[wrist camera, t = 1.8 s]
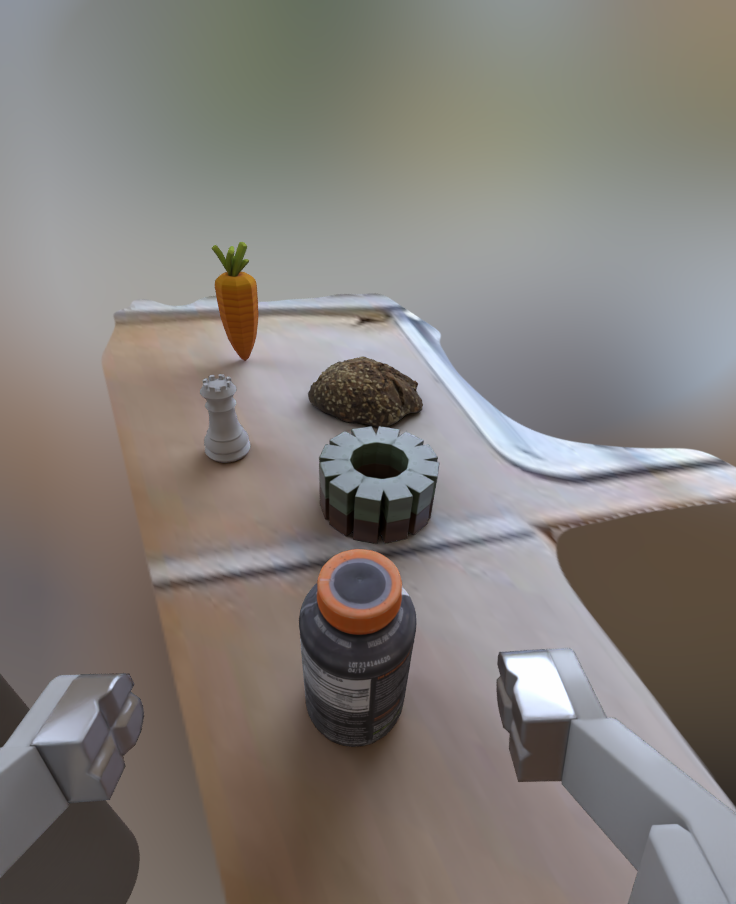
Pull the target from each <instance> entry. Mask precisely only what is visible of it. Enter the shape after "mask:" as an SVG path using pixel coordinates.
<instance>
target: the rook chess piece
mask: <svg viewBox="0 0 736 904" xmlns="http://www.w3.org/2000/svg"><path fill="white" fill-rule="evenodd" d="M236 390H237V389H236V386H235V385H234V384H233V383H231V378H230V377H229V376H227V377H226V379H225V376H224V375H222V374H219V379H215V377H214V375H211V376H209V381H208V379H206V378H204V380H203V387H202V388H201V389H200V394H201V395H202V396H203V397H204V398H205V399H206V400H207V402H206V404H205V407H206V409H207V410H208V412H209V429H208V430H207V434H206V436H205V439H204V445H205V453H206V454H207V456H208V457H209V458H211V459H212V460H215V461H217V462H223V463H228V462H234V461H237V460H239V459H241V458H242V457H244V456H245V455H246V454H247V452H248V451H249V449H250V442H249V437H248V434H247V432H246V431H245V430H244V429H243V427H242V426H241V425H240V424H239V422H238V419H237V416H236V412H235V408H234V407H235V405H236V401H235V400H234V399H233V395H234V393H235V392H236Z"/></svg>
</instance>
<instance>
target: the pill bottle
mask: <svg viewBox="0 0 736 904" xmlns="http://www.w3.org/2000/svg"><path fill="white" fill-rule="evenodd" d="M299 629H300V639H301V653H302V664H303V675H304V685H305V698H306V706H307V710H308V713H309V716H310V718H311V720H312V722H313V724H314V725H315V727H316V728H317V729H318V730H319V731H320V732H321V733H322V734H323V735H324V736H325V737H327V738H328V739H329V740H331V741H333V742H335V743H338V744H341V745H344V746H351V747H354V746H364V745H368V744H371V743H374V742H375V741H377V740H379V739H381V738H382V737H384V736H385V735H386V734H387V733H388V732H389V731H390V730H391V729H392V728H393V726H394V725H395V724H396V722H397V720H398V718H399V716H400V714H401V710H402V707H403V702H404V697H405V691H406V685H407V679H408V673H409V667H410V661H411V655H412V649H413V643H414V638H415V632H416V612H415V608H414V605H413V603H412V600H411V598H410V596H409V595H408V593H407V592H406V591H405V589H404V588H403V587H402V580H401V576H400V573H399V571H398V569H397V567H396V566H395V565H394V564H393V562H392V561H390V560H389V559H388V558H387V557H385V556H384V555H382V554H380V553H377V552H375V551H371V550H365V549H353V550H348V551H344V552H341V553H339V554H337V555H335V556H334V557H332V558H331V559H330V560H328V561H327V562H326V564H325V565H324V566H323V567H322V569H321V571H320V574H319V576H318V581H317V583H316V584H315V585H314V586H313V588H312V589H311V590H310V591H309V593H308V594H307V596H306V598H305V600H304V602H303V604H302V607H301V611H300V617H299Z"/></svg>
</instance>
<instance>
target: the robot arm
mask: <svg viewBox="0 0 736 904" xmlns="http://www.w3.org/2000/svg"><path fill="white" fill-rule="evenodd" d="M497 665H498V668H499V672H500V675H501V676H500V677H499V678H498V679H497V701H498V708H499V713H500V717H501V721H502V725H503V728H505V729H506V730H507V731H508V732H509V733H510V738H509V751H510V754H511V758H512V761H513V765H514V768H515V772H516V776H517V779H518V782H536V781H562V783H561V784H562V785H563V786H564V787H565V788H566V789H567V790H568V792H569V793H570V794H571V795H572V796H573V797H574V799H575V800H576V801H577V802H578V803H579V804H580V805H581V807H582V808H583V809H584V810H585V811H586V812H587V813H588V815H589V816H590V817H591V818H592V819H593V820H594V821H595V823H596V824H597V825H598V826H599V827H600V828H601V829H602V831H603V832H604V833H605V834H606V835H607V836H608V838H609V839H610V840H611V841H612V842H613V843H614V844H615V846H616V847H617V848H618V849H619V850H620V851H621V852H622V854H623V855H624V856H625V857H626V858H627V859H628V860H629V862H630V863H631V864H632V865H633V866H634V867H635V869H636V870H637V871H638V872H637V876H636V879H635V882H634V885H633V889H632V892H631V895H630V898H629V902H628V904H736V813H735V812H734V811H732V810H731V809H730V808H728V807H727V806H726V805H725V804H723V803H722V802H721V801H720V800H718V799H717V798H716V797H715V796H713V795H712V794H711V793H709V792H708V791H707V790H706V789H704V788H703V787H702V786H701V785H699V784H698V783H697V782H696V781H694V780H693V779H692V778H690V777H689V776H688V775H687V774H685V773H684V772H683V771H682V770H680V769H679V768H678V767H677V766H675V765H674V764H673V763H671V762H670V761H669V760H668V759H666V758H665V757H664V756H663V755H661V754H660V753H659V752H657V751H656V750H655V749H654V748H652V747H651V746H650V745H649V744H647V743H646V742H645V741H644V740H642V739H641V738H640V737H638V736H637V735H636V734H635V733H633V732H632V731H631V730H630V729H628V728H627V727H626V726H625V725H623V724H622V723H621V722H619V721H618V720H617V719H616V718H607V716H606V714H605V712H604V710H603V708H602V706H601V704H600V702H599V700H598V698H597V696H596V694H595V692H594V690H593V688H592V686H591V684H590V682H589V680H588V678H587V676H586V674H585V672H584V670H583V668H582V666H581V664H580V662H579V660H578V658H577V656H576V654H575V652H574V651H573V650H572V649H571V648H561V649H546V650H545V649H539V650H524V651H509V652H499V655H498V664H497ZM133 686H134V682H133V681H132V678H131V676H130V674H125V673H120V674H81V675H60V676H57V677H56V678H55V679H53V680H52V681H51V682H50V683H49V684H48V686H47V687H46V688H45V690H44V691H43V692H42V694H41V695H40V697H39V698H38V699H37V701H36V702H35V704H34V705H33V706H32V708H31V709H30V710H29V712H28V713H27V715H26V716H25V717H24V719H23V720H22V721H21V723H20V724H19V726H18V727H17V728H16V730H15V731H14V733H13V734H12V735H11V737H10V738H9V739H8V741H7V742H6V744H5V745H4V746H3V748H0V878H1V877H2V876H3V875H4V873H5V872H6V871H7V870H8V869H9V868H10V867H11V866H12V865H13V864H14V863H15V862H16V861H17V860H18V859H19V858H20V857H21V856H22V855H23V853H24V852H25V851H26V850H27V849H28V848H29V847H30V846H31V845H32V844H33V843H34V842H35V841H36V840H37V839H38V838H39V837H40V836H41V835H42V834H43V832H44V831H45V830H46V829H47V828H48V827H49V826H50V825H51V824H52V823H53V822H54V821H55V820H56V819H57V818H58V817H59V816H60V815H61V814H62V813H63V811H64V810H65V809H66V808H67V807H68V806H69V804H68V803H76V802H89V801H102V800H110V798H111V796H112V794H113V792H114V789H115V788H116V786H117V783H118V781H119V779H120V777H121V775H122V773H123V770H124V768H125V763H124V757H123V756H124V755H125V754H126V753H127V752H128V751H129V750H130V749H131V748H133V747H134V746H135V744H136V742H137V740H138V738H139V735H140V733H141V730H142V724H143V719H144V711H143V705H142V702H141V699H140V698H139V697H138V696H136V695H135V694H133V693H132V692H131V690H132V688H133Z"/></svg>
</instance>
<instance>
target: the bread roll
mask: <svg viewBox="0 0 736 904" xmlns="http://www.w3.org/2000/svg"><path fill="white" fill-rule="evenodd" d="M417 386H418V383H417V382H416V381H413V380H412V379H411V378H409V377H408V376H406V375H404V374H402V373H400V372H399V371H398V370H396V369H394V368H393V367H391V366H389V365H388V364H383V363H381V362H377V361H375V360H372V359H369V358H366V357H360V358H354V359H350V360H347V361H346V360H344V362H337V363H335V364H334V365H331V366H330V367H328V369H326V371H325V372H322V375H320V376H319V378H318V380H317V381H316V382H314V383H313V385H312V386H311V389H310V391H309V393H308V397H309V400H310V402H311V403H312V405H314V406H316V407H317V408H319V409H320V410H322V411H323V412H324V413H326V414H331V415H333V416H334V417H337V418H339V419H341V420H342V421H345V422H349V423H362V424H367V425H371V426H375V427H379V426H380V427H386V426H389V425H392V424H394V423H396V422H397V421H399V420H400V419H401V418H402V417H404V416H405V415H406V414H409V413H417V412H419V411H420V410H422V406H423V404H422V399H421V398H420V397H419V395H418V394H417V391H416V389H417V388H416V387H417Z"/></svg>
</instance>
